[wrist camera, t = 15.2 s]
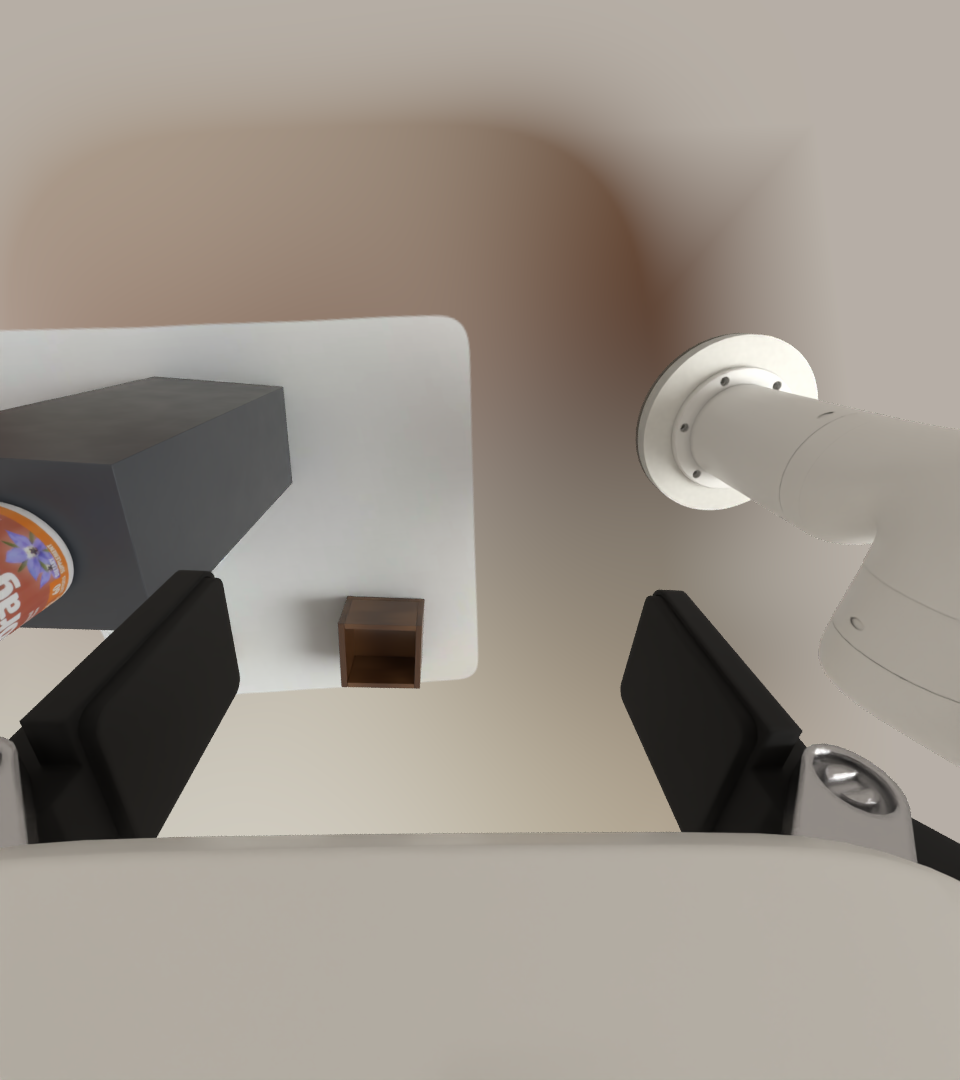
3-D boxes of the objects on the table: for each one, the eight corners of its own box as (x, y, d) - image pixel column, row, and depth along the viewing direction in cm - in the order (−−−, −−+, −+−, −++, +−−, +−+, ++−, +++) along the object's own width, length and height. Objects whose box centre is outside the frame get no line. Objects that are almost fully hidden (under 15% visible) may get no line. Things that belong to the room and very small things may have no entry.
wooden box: (424, 599, 58) (422, 626, 53) (421, 658, 62) (419, 688, 57) (347, 596, 57) (337, 623, 52) (350, 656, 61) (341, 687, 56)
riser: (283, 386, 46) (111, 464, 22) (292, 482, 50) (156, 632, 27) (154, 376, 44) (-168, 447, 21) (175, 475, 49) (-74, 625, 26)
